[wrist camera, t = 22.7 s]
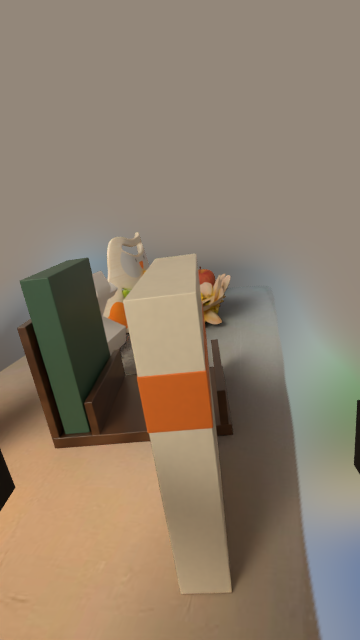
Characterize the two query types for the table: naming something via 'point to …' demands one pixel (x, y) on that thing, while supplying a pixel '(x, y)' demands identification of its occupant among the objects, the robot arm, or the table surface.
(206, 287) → the decorative flower
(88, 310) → the green book
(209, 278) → the apple
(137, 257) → the shape sorter
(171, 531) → the book
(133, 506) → the table surface
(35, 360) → the book rack
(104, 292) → the white angular piece
